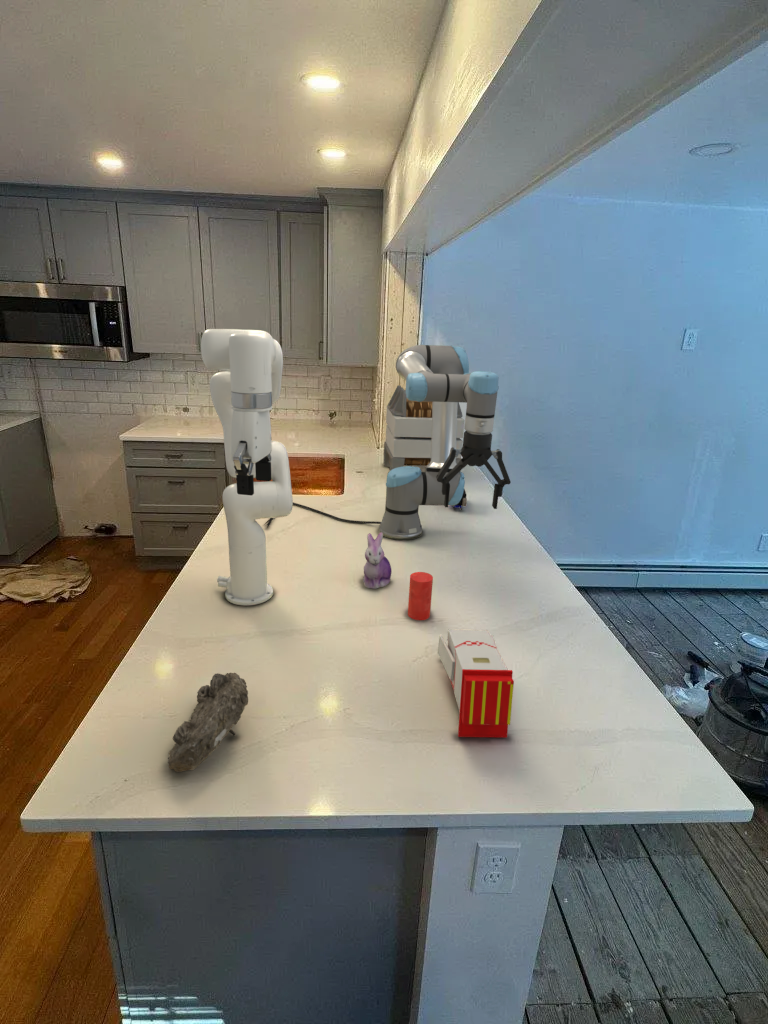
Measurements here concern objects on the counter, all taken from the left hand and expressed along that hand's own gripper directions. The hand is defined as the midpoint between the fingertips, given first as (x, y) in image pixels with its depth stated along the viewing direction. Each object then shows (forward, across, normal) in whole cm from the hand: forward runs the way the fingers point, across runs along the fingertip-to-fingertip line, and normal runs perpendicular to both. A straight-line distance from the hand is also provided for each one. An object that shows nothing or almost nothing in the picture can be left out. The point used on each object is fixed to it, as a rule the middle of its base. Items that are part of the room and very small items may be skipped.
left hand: (255, 487), depth 113 cm
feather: (+40, -87, -27) cm, 99 cm away
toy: (+40, +2, +46) cm, 61 cm away
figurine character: (+40, -117, +39) cm, 130 cm away
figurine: (+40, -42, +19) cm, 61 cm away
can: (+40, -27, +33) cm, 58 cm away
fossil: (+40, +24, 0) cm, 47 cm away
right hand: (+16, -49, +44) cm, 67 cm away
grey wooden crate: (+40, -162, +20) cm, 168 cm away
